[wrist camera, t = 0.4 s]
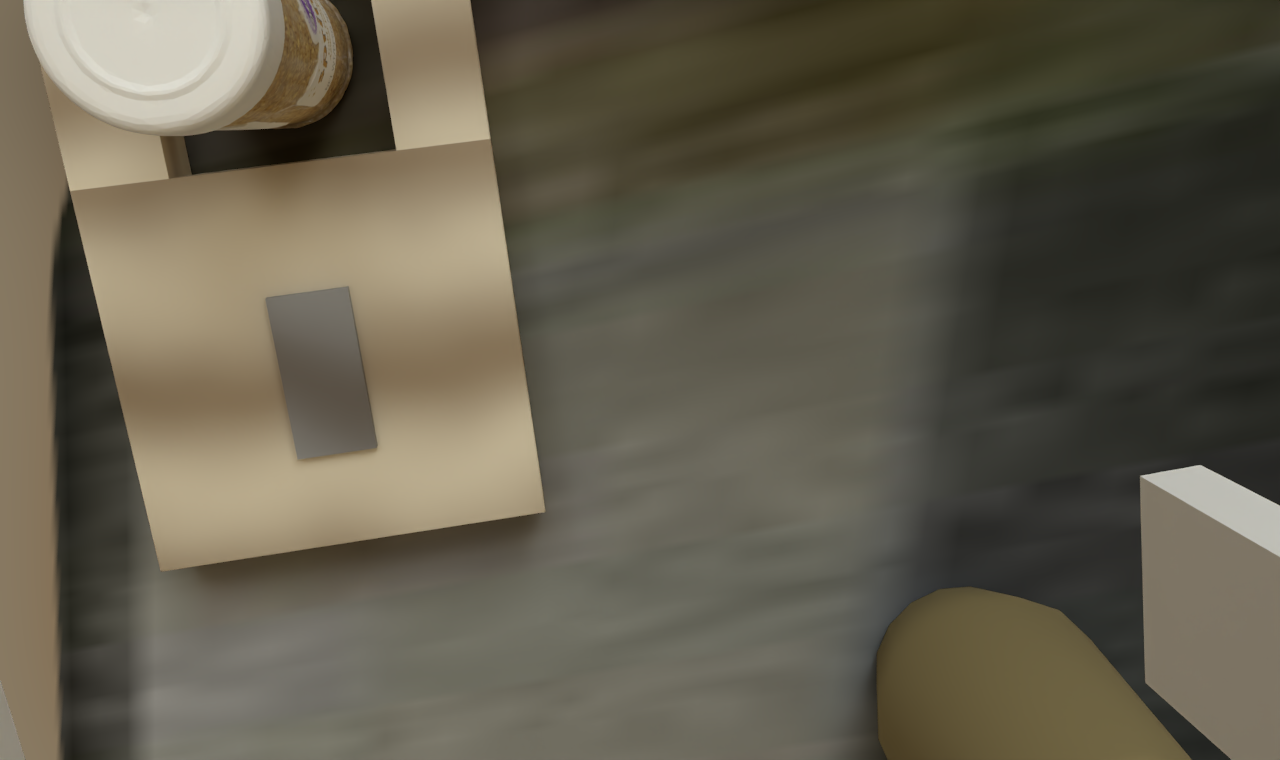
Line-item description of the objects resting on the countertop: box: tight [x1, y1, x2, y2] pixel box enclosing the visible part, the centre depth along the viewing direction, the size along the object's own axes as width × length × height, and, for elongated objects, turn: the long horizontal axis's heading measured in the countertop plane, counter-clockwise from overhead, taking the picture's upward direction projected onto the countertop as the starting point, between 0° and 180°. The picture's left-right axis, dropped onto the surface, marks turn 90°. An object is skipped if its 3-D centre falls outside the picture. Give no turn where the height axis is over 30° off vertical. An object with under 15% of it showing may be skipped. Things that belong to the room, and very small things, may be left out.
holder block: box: [39, 0, 545, 572], centre depth 34 cm, size 22×12×3 cm, turn 7°
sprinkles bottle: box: [23, 0, 353, 136], centre depth 28 cm, size 5×5×13 cm
